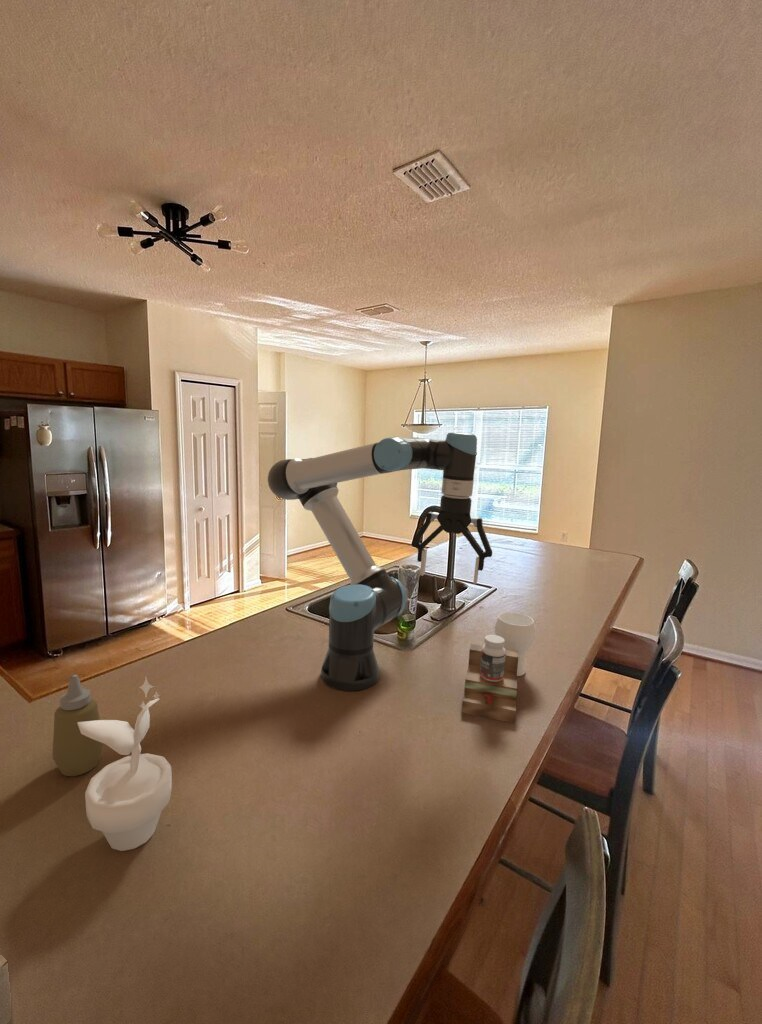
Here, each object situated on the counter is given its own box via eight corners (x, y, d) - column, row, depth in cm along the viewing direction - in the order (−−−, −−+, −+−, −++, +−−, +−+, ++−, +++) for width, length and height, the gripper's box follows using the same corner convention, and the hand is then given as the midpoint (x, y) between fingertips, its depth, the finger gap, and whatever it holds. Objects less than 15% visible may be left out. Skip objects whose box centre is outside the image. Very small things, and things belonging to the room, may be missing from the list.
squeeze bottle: (95, 745, 91) (90, 660, 89) (112, 765, 86) (107, 675, 84) (47, 766, 85) (39, 676, 82) (62, 789, 80) (54, 693, 77)
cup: (533, 681, 123) (538, 628, 120) (492, 676, 125) (496, 623, 123) (528, 663, 133) (533, 613, 131) (491, 658, 135) (495, 609, 133)
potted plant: (185, 805, 78) (180, 667, 74) (153, 869, 67) (146, 710, 62) (108, 804, 78) (100, 665, 73) (64, 868, 66) (50, 708, 62)
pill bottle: (475, 671, 115) (478, 634, 113) (495, 669, 116) (499, 632, 115) (486, 684, 109) (489, 644, 108) (507, 681, 111) (511, 642, 109)
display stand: (461, 712, 108) (464, 672, 106) (468, 678, 123) (470, 643, 121) (514, 723, 105) (518, 682, 103) (514, 687, 120) (518, 651, 118)
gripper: (404, 492, 114) (397, 574, 118) (507, 503, 107) (497, 590, 111) (410, 489, 121) (404, 566, 125) (508, 499, 115) (499, 581, 118)
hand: (448, 578), depth 118 cm, fingers open, 13 cm apart
